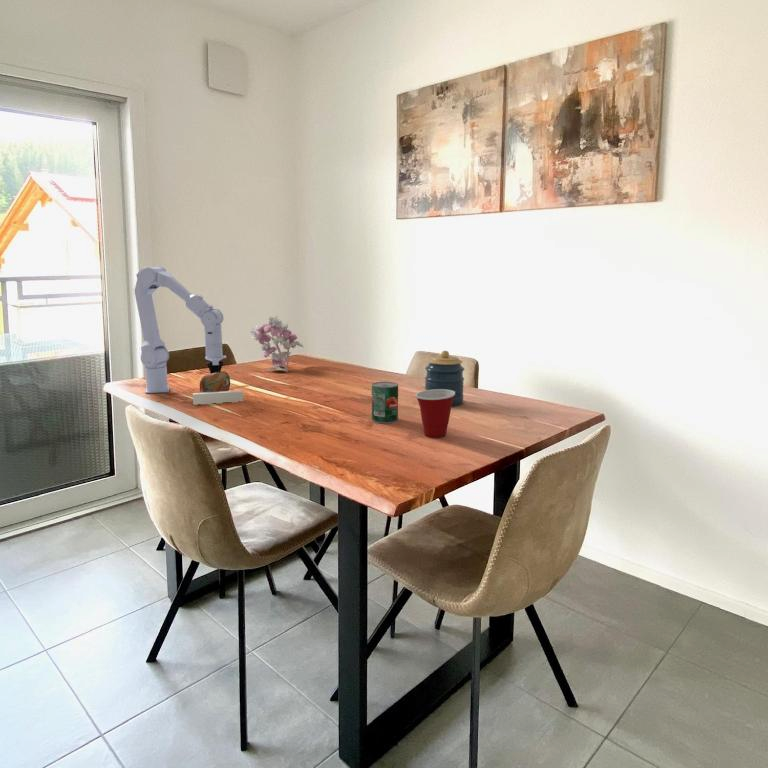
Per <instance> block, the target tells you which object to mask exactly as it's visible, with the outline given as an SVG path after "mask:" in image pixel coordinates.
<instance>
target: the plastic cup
mask: <svg viewBox="0 0 768 768" xmlns="http://www.w3.org/2000/svg"><path fill="white" fill-rule="evenodd" d="M454 395H455V392H454V391H452V390H447V389H433V390H425V389H424V390H421V391H418V392H416V393H415V395H414V397H415V398H416V399H417V402H418V405H419V410H420V417H421V422H422V426H423V427H422V428H423V433H424V436H426V437H428V438H433V439H435V438H437V439H439V438H444V437H445V436H446V434H447V430H448V425H449V423H450V422H449V420H450V415H451V410H452V407H453V406H452V401H453V397H454Z"/></svg>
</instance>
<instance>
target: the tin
mask: <svg viewBox="0 0 768 768" xmlns="http://www.w3.org/2000/svg"><path fill="white" fill-rule="evenodd" d="M230 387H231V379H230V376H229V374H228V372H226V371H221V372H215V373H212V374H211V373H209V374H206V375H203V377H202V378H201V380H200V382H199V393H206V392H223V391H230Z"/></svg>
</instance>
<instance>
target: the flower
mask: <svg viewBox="0 0 768 768" xmlns="http://www.w3.org/2000/svg"><path fill="white" fill-rule="evenodd" d="M278 318H279V316H277V315H275V317H274V316H273V317H272V316H270V317H268V323H266V324H265V323H264V324H261V325H260V326H259V325H257V324H255V325H253V327H252V329H251V330H249V333H250V334H251V338H250V339H254V341H258V343H259V344H260V345H261V347H260V349H261V351H263V352H264V353H263V357H264V358H268V357H271V359H270V364H271V365H272V366H271V367H268V369H267V371H266V372H268V371H270V370H277V371H280V372H286V373H289V371H288V366H289V363H290V354H291V355H292V354H293V353H292V352H290V349H291V348H292V349H295V348H296V347H297V346H298V347H302V348H304V345H303V344H301V343H300V342H299V341H298V336H297V335H296V333H294V332H292V331H291V330H290V329H289V325H288V323H286V324H285V323H284V322H283V321H282V320H280V319H278ZM268 333H270V335H271V336H270V335H269V334H268ZM270 341H272V342H273V344H274V346H271V343H270ZM279 343H280V346H282V347H283V349H284V350H283V351H281V348H280V347H279ZM285 350H286V351H285ZM276 351H278V353H276ZM270 355H271V356H270ZM282 367H283V368H282Z"/></svg>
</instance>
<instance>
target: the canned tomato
mask: <svg viewBox="0 0 768 768" xmlns="http://www.w3.org/2000/svg"><path fill="white" fill-rule="evenodd" d="M371 421H372V422H373V423H375V424H393V423H397V422H398V421H399V383H397V382H395V381H394V382H392V381H376V382H373V383H371Z"/></svg>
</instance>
